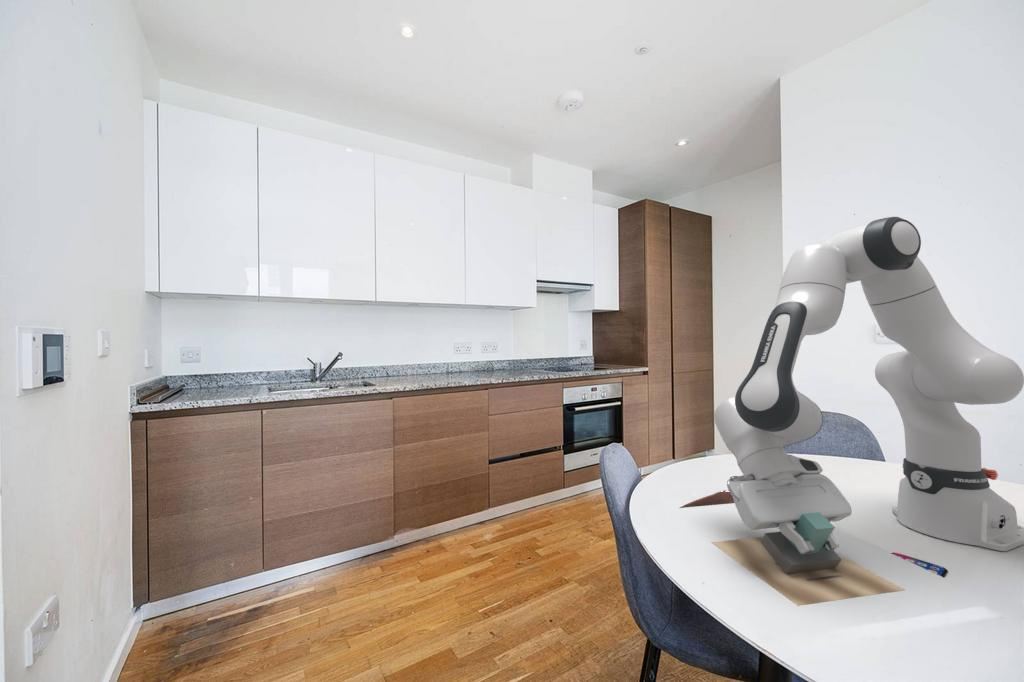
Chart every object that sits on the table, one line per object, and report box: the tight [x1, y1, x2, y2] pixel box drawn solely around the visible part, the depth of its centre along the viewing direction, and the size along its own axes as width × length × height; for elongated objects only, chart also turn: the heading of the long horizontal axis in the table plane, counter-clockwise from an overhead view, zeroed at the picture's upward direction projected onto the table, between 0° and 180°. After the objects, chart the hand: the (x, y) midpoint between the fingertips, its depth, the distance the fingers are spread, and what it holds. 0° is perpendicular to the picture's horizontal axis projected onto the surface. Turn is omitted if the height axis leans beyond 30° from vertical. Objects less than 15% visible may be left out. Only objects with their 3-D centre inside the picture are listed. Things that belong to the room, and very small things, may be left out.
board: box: [710, 536, 906, 607], centre depth 69 cm, size 20×19×2 cm
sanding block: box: [761, 512, 842, 574], centre depth 67 cm, size 10×6×9 cm, turn 100°
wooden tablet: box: [679, 490, 735, 509], centre depth 98 cm, size 26×2×10 cm
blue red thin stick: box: [890, 552, 949, 578], centre depth 68 cm, size 8×1×15 cm
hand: (820, 550), depth 65 cm, fingers closed on sanding block, 3 cm apart
